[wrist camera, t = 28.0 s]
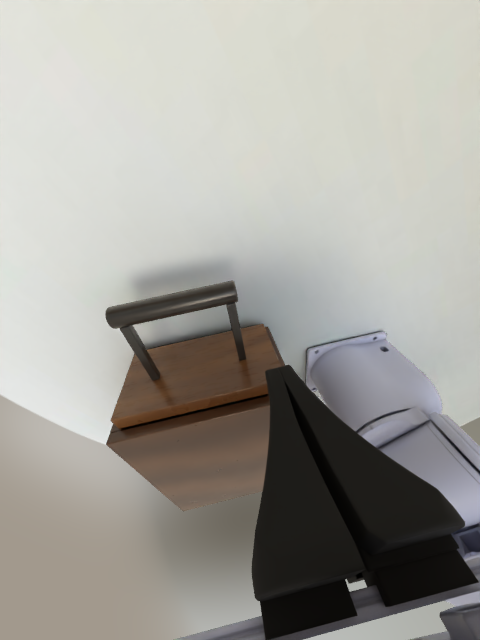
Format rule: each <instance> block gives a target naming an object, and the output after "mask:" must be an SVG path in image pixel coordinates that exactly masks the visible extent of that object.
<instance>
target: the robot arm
mask: <svg viewBox="0 0 480 640" xmlns="http://www.w3.org/2000/svg"><path fill="white" fill-rule="evenodd" d="M386 337H387V333H385V332H384V331H382V332H378V333H373V334H369V335H365V336H360V337H356V338H352V339H347V340H343V341H339V342H334V343H330V344H326V345H321V346H317V347H313V348H310V349H308V350H307V365H306V384H305V383H304V382H303V381H302V380H301V379H300V377H299V376H298V375H297V374H296V372H295V371H294V370H293V368H292V367H291V366H290V365H286V366H282V367H277V368H273V369H269V370H266V371H265V375H266V382H267V388H268V394H269V399H270V429H269V444H268V454H267V464H266V472H265V478H264V485H263V492H262V498H261V504H260V509H259V514H258V519H257V525H256V530H255V539H254V549H253V559H252V579H253V587H254V594H255V598H256V599H257V600H258V601H260V605H261V612H262V616H259V617H256V618H252V619H248V620H245V621H241V622H238V623H234V624H230V625H226V626H222V627H219V628H215V629H211V630H208V631H204V632H200V633H197V634H193V635H190V636H186V637H182V638H178V639H174V640H303V639H306V638H310V637H313V636H317V635H321V634H324V633H328V632H332V631H335V630H339V629H342V628H346V627H349V626H353V625H357V624H360V623H364V622H367V621H371V620H375V619H379V618H382V617H386V616H389V615H393V614H397V613H401V612H404V611H408V610H411V609H415V608H419V607H422V606H426V605H430V604H433V603H437V602H440V601H446V602H448V603H450V604H453V605H455V606H456V607H453V608H450V609H448V610H446V611H443V612H440V618H441V620H442V622H443V623H444V625H445V627H446V629H447V632H442V633H437V634H433V635H428V636H424V637H419V638H415V639H410V640H480V446H479V445H478V444H477V443H476V442H475V441H474V440H473V439H472V438H471V437H470V436H468V434H466V433H465V432H464V431H463V430H462V429H461V428H460V427H459V426H458V425H457V424H456V423H455V422H454V421H453V420H452V419H451V418H450V417H449V416H448V415H444V414H441V413H442V401H441V397H440V395H439V393H438V391H437V389H436V387H435V386H434V384H433V383H432V382H431V380H430V379H429V378H428V377H427V376H426V375H425V374H424V373H423V372H422V371H421V370H419V369H418V368H417V367H416V366H415V365H414V364H413V363H412V362H410V361H409V360H408V359H407V358H406V357H405V356H404V355H403V354H401V353H400V352H399V351H398V350H397V349H396V348H395V347H394V346H393V345H391V344H390V343H389V342H388V341H387V340H386ZM316 350H317V351H316ZM317 390H318V391H319V393H320V395H321V397H322V399H323V400H324V402H325V404H326V405H325V404H324V403H323V402H322V401H321V400H320V399H319V398H318V397H317V396H316V395H315V394H314V393H313V392H312V391H317ZM345 579H347V580H348V582H349V583H353V582H357V581H361V580H365V582H366V585H367V588H363V589H359V590H356V591H352V592H349V590H348V587H347V584H346V581H345Z"/></svg>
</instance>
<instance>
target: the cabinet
mask: <svg viewBox="0 0 480 640" xmlns="http://www.w3.org/2000/svg"><path fill="white" fill-rule="evenodd" d="M265 329H266V331H267V334H268V336H269V338H270V341H271V343H272V345H273V348H274V350H275V352H276V355H277V357H278V360H279V362H280V364H281V367H282V366H285V364H284V362H283V359H282V357H281V355H280V353H279V350H278V348H277V346H276V344H275V341H274V339H273V337H272V335H271V332H270V330H269V328H268V327H265ZM139 425H140V424H138V425H133V426H129V427H125V428H121V429H118V428H117V427H116V426H115V425H114V424H113V426H112V429H111V432H110V435H109V438H108V440H107V443H106V445H107V446H108V447H110V448H111V449H112V450H113V451H114V452H115V453H116V454H118V455H119V456H120V457H121V458H122V459H123V460H125V461H126V462H127V463H128V464H129V465H130V466H132V467H133V468H134V469H135V470H136V471H137V472H138V473H140V474H141V475H142V476H143V477H144V478H145V479H147V480H148V481H149V482H150V483H151V484H152V485H153V486H154V487H156V488H157V489H158V490H159V491H160V492H162V493H163V494H164V495H165V496H166V497H167V498H168V499H169V500H171V501H172V502H173V503H174V504H175V505H177V506H178V507H179V508H180V509H181V510H182V511H186V510H190V509H194V508H197V507H201V506H205V505H209V504H214V503H218V502H222V501H226V500H230V499H233V498H237V497H241V496H245V495H249V494H253V493H257V492H261V491H263V485H264V478H265V472H266V464H267V454H268V444H269V429H270V399H269V396H266V397H261V398H257V399H253V400H249V401H244V402H240V403H236V404H232V405H228V406H223V407H219V408H215V409H211V410H206V411H202V412H198V413H194V414H190V415H185V416H181V417H177V418H173V419H168V420H164V421H160V422H156V423H152V424H147V425H143V426H139Z"/></svg>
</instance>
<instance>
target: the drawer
mask: <svg viewBox="0 0 480 640" xmlns="http://www.w3.org/2000/svg"><path fill="white" fill-rule="evenodd" d="M235 302H238V297H237V291H236V287H235V283H234V281H228V282H223V283H219V284H214V285H210V286H205V287H200V288H196V289H191V290H186V291H182V292H177V293H172V294H168V295H163V296H158V297H154V298H149V299H145V300H140V301H135V302H131V303H126V304H121V305H117V306H112V307H109V308H107V310H106V320H107V322H108V324H109V325H110V326H111V327H112V328H115V329H117V328H120V330H121V332H122V333H123V335H124V337H125V338H126V340H127V341H128V343H129V344H130V346H131V348H132V349H133V351H134V352H135V354H134V357H133V360H132V362H131V365H130V368H129V371H128V373H127V376H126V379H125V382H124V385H123V387H122V390H121V393H120V396H119V398H118V401H117V404H116V407H115V409H114V412H113V415H112V418H111V422H112V423H113V424H114V425H115V426H116V427H117V428H118V429H121V428H125V427H129V426H133V425H138V424H140V425H139V426H143V425H147V424H152V423H156V422H160V421H164V420H168V419H173V418H177V417H180V414H184V413H188V412H193V411H197V410H201V409H205V408H209V407H214V406H218V405H222V404H226V403H231V402H235V401H239V400H243V399H248V398H250V399H251V400H253V399H257V398H261V397H266V396H269V394H268V388H267V382H266V375H265V371H266V370H269V369H273V368H277V367H281V364H280V362H279V360H278V357H277V355H276V352H275V350H274V348H273V345H272V343H271V341H270V338H269V336H268V334H267V331H266V329H265V327H264V324H259V325H255V326H250V327H246V328H241V329H240V324H239V319H238V314H237V309H236V304H235ZM221 305H226V306H227V310H228V314H229V319H230V323H231V327H232V331H228V332H223V333H219V334H214V335H210V336H206V337H201V338H197V339H192V340H188V341H183V342H179V343H174V344H170V345H165V346H161V347H156V348H152V349H147V350H146V348H145V346H144V344H143V343H142V341H141V339H140V337H139V336H138V334H137V332H136V330H135V329H134V327H133V325H135V324H139V323H144V322H149V321H153V320H158V319H162V318H167V317H171V316H176V315H180V314H185V313H190V312H194V311H199V310H203V309H208V308H212V307H217V306H221Z"/></svg>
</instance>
